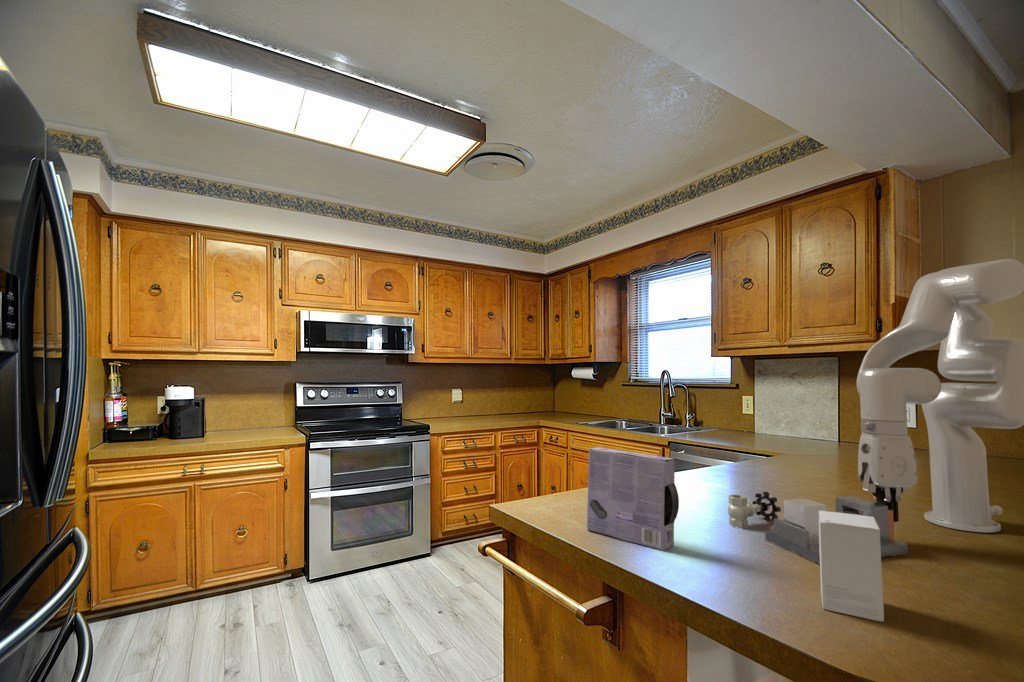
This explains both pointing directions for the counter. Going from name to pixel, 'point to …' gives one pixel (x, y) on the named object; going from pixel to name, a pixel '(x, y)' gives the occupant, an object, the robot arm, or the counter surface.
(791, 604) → the counter surface
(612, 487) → the cake pan box
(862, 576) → the supplement box
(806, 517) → the block
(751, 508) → the valve
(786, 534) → the press bed
